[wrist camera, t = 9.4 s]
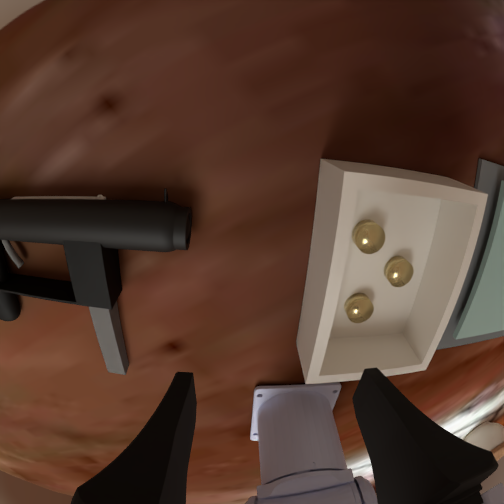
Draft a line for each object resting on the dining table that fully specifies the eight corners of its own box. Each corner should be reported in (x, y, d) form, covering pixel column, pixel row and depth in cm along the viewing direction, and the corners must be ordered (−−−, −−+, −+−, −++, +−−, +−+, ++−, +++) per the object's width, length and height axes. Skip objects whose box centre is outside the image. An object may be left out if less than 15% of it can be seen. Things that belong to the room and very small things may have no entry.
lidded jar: (462, 430, 35) (481, 470, 27) (505, 404, 35) (527, 439, 26) (447, 455, 40) (462, 489, 31) (488, 432, 39) (505, 464, 31)
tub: (404, 335, 24) (425, 369, 20) (295, 342, 23) (305, 384, 19) (448, 177, 18) (487, 194, 14) (320, 158, 18) (344, 171, 14)
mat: (506, 332, 26) (507, 334, 25) (422, 348, 25) (424, 351, 25) (555, 186, 18) (558, 187, 18) (478, 158, 18) (482, 159, 17)
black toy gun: (191, 390, 23) (186, 193, 15) (2, 351, 21) (-52, 195, 14) (195, 361, 26) (195, 177, 18) (15, 330, 24) (-27, 181, 17)
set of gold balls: (393, 313, 22) (398, 320, 21) (335, 315, 22) (338, 324, 21) (418, 223, 19) (425, 228, 18) (354, 218, 19) (359, 223, 18)
